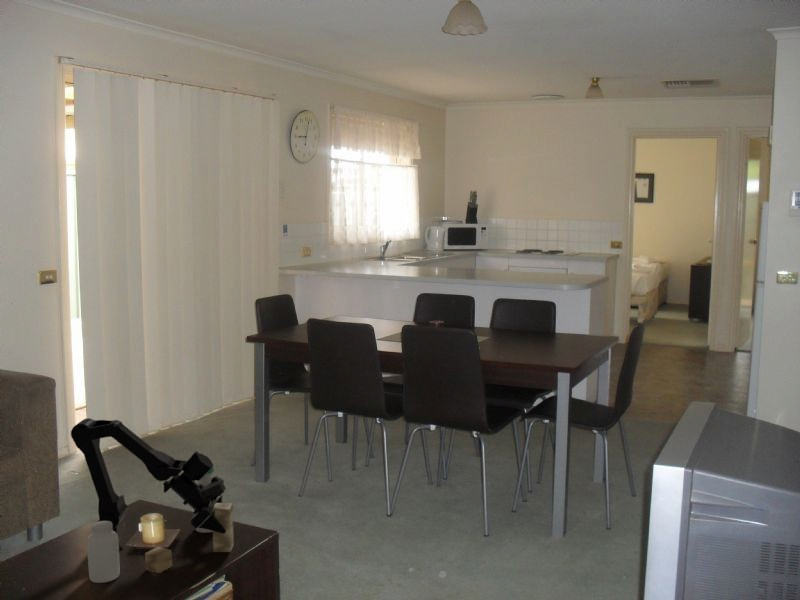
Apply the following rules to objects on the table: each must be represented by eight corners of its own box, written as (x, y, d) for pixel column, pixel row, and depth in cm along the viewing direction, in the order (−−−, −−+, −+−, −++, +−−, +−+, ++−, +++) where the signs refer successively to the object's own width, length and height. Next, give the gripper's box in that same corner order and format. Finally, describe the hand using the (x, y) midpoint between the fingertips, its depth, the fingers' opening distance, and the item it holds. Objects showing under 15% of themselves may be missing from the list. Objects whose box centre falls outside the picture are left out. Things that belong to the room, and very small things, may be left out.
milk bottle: (223, 524, 255) (221, 463, 252) (215, 534, 247) (213, 471, 245) (199, 523, 256) (198, 462, 253) (191, 532, 248) (189, 470, 246)
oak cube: (145, 570, 223) (145, 553, 222) (159, 563, 227) (158, 546, 227) (159, 574, 220) (158, 556, 220) (172, 567, 225) (171, 550, 224)
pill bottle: (95, 570, 223) (93, 518, 221) (124, 570, 222) (122, 518, 221) (83, 583, 215) (81, 530, 213) (113, 584, 214) (111, 530, 213)
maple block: (213, 552, 234) (212, 509, 233) (216, 544, 239) (215, 503, 238) (230, 551, 235) (229, 509, 233) (233, 544, 239) (232, 502, 238)
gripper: (201, 482, 225) (241, 520, 226) (214, 461, 243) (251, 496, 245) (173, 510, 225) (214, 547, 227) (189, 487, 244) (226, 521, 246)
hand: (227, 526), depth 236 cm, fingers open, 8 cm apart
